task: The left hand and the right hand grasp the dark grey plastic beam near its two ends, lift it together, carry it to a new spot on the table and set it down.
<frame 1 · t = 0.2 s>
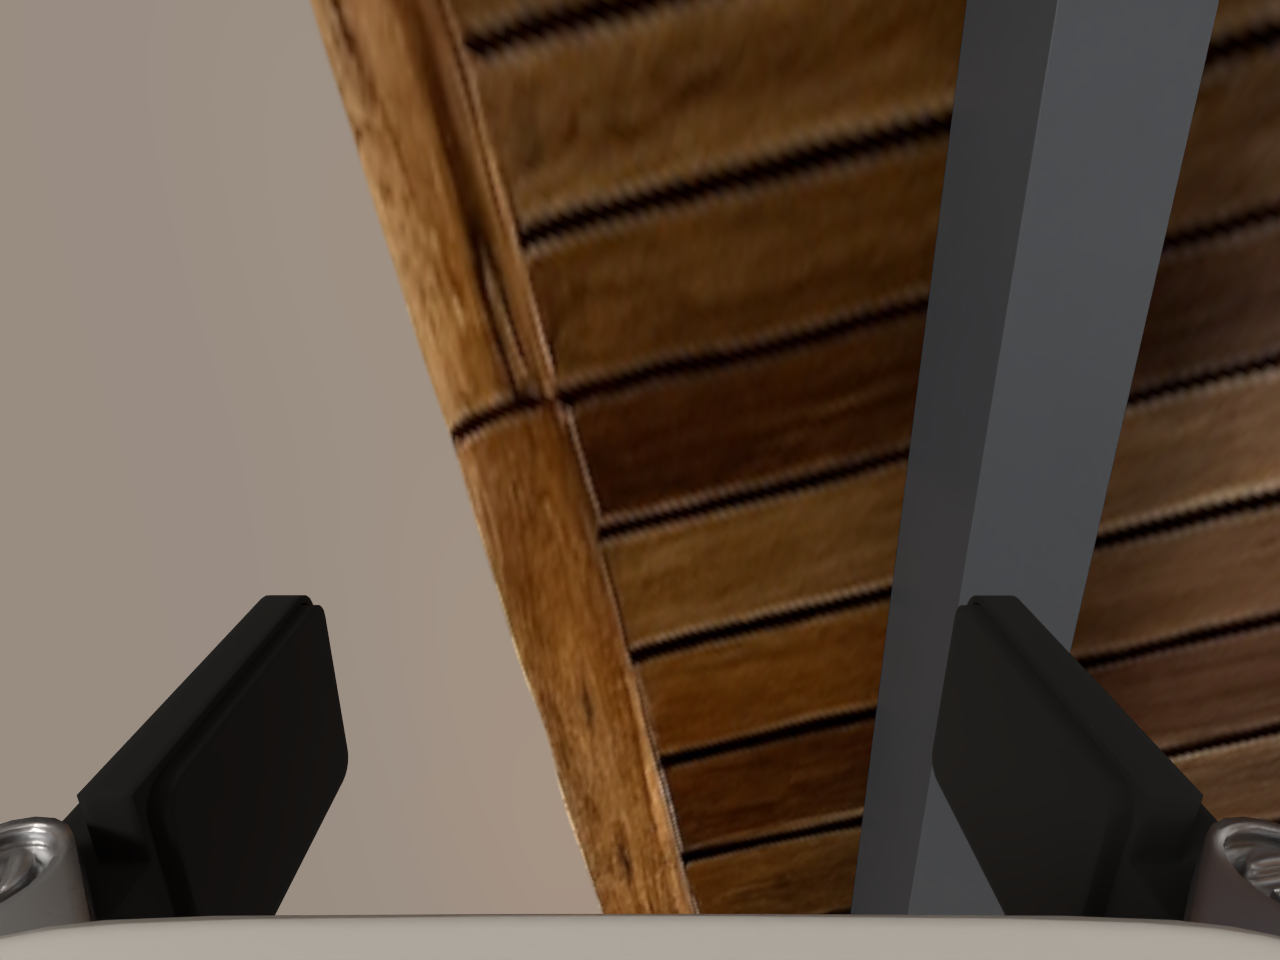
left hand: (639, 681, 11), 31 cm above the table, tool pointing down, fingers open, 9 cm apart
beam: (950, 518, 44), on the table
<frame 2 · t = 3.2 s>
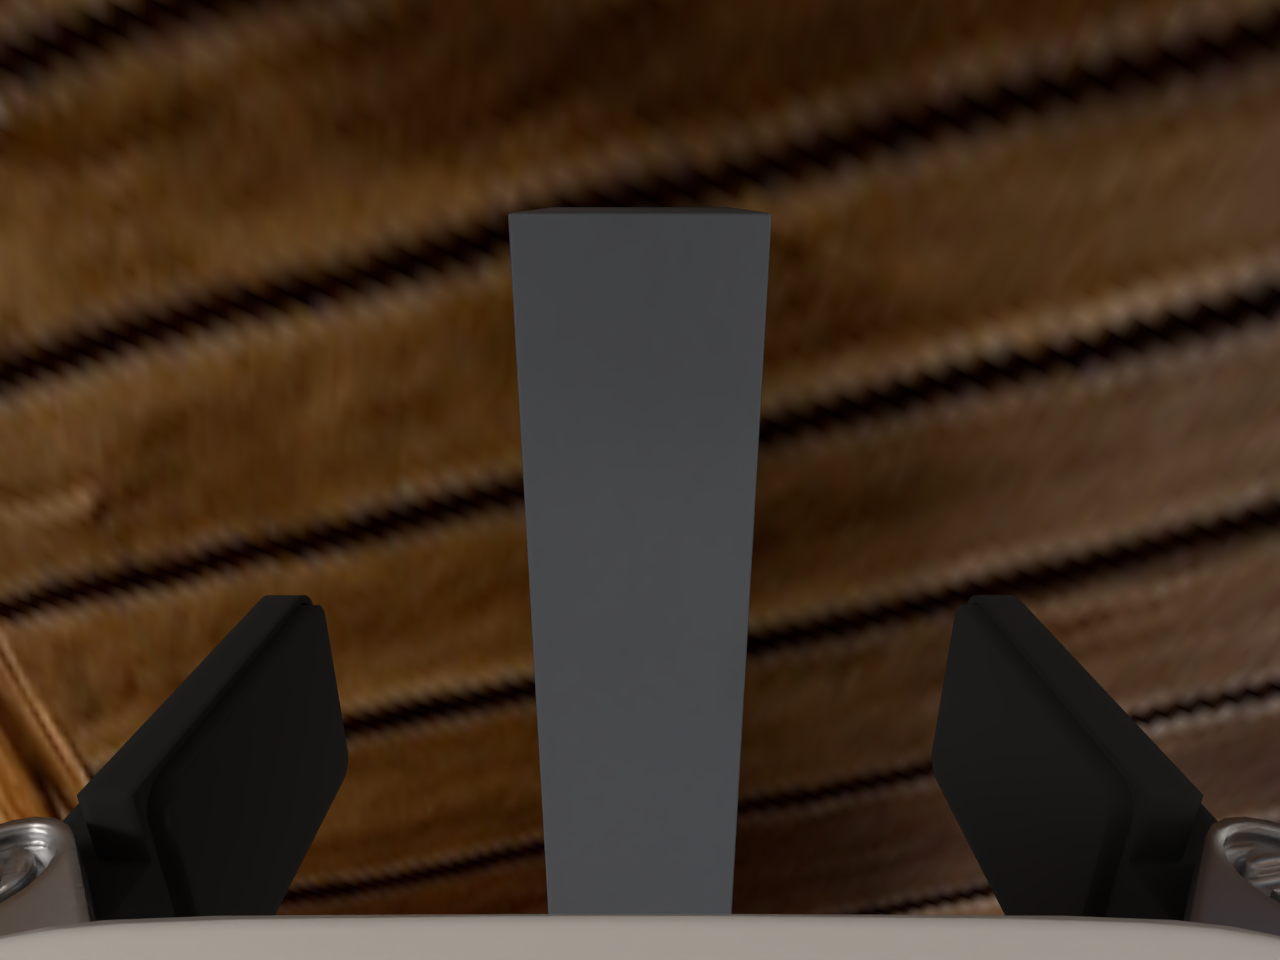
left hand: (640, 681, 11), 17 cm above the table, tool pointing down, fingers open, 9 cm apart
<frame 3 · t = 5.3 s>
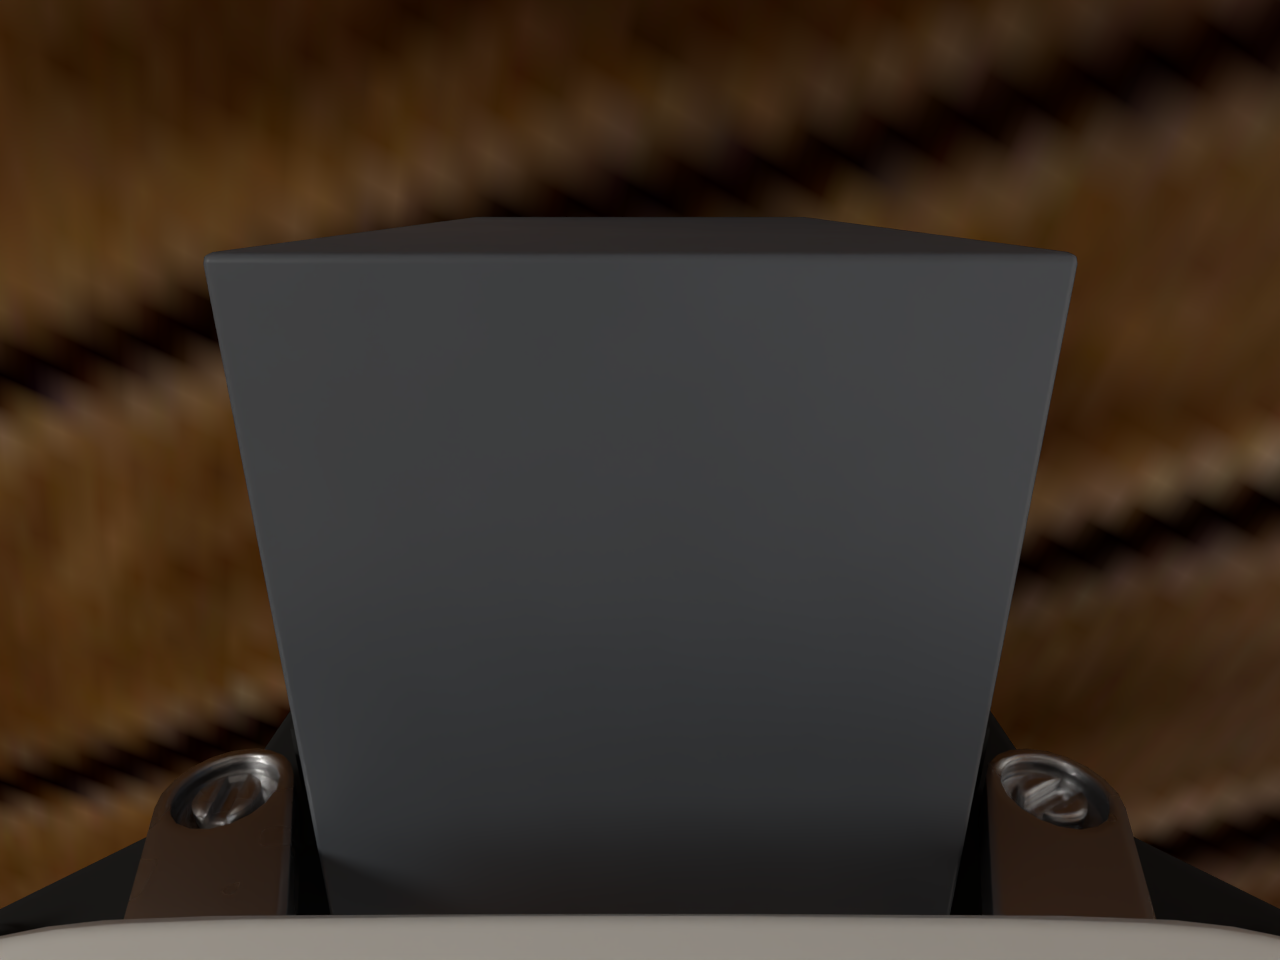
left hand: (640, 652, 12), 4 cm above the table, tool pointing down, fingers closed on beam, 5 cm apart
when the right hand's fingers open (2 cm above the table, at t = 10.1 s): beam drops 1 cm, on the table.
when the left hand's fingers open (5 cm above the table, at t = 10.3 s): beam stays where it is, on the table.
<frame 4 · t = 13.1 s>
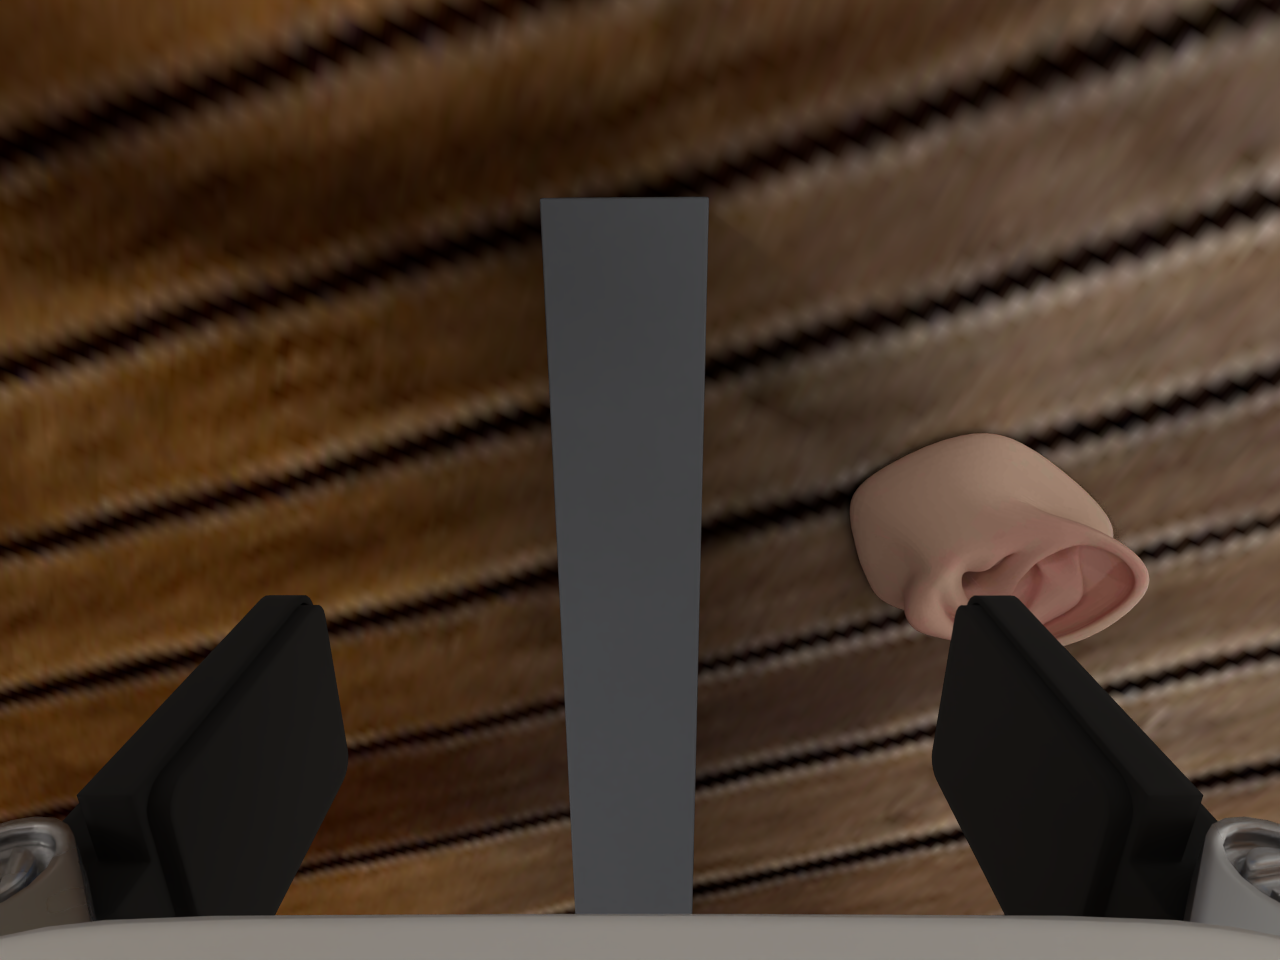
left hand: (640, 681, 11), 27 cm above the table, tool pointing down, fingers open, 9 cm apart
anatomical model: (972, 536, 40), on the table
beam: (635, 860, 48), on the table
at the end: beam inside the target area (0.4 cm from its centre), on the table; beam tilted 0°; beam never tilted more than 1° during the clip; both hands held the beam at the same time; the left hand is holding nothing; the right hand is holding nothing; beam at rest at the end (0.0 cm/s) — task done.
